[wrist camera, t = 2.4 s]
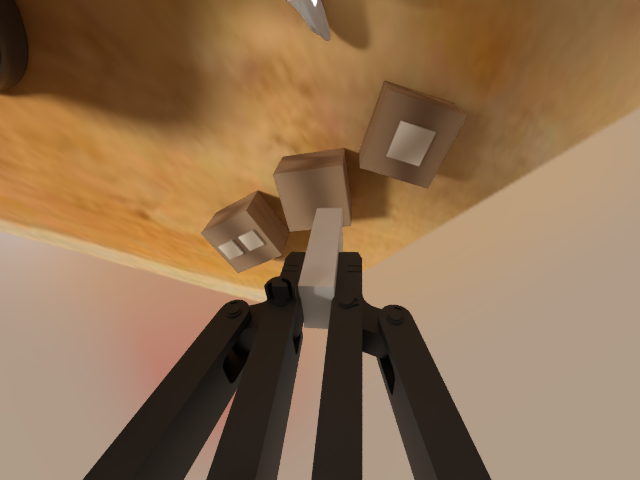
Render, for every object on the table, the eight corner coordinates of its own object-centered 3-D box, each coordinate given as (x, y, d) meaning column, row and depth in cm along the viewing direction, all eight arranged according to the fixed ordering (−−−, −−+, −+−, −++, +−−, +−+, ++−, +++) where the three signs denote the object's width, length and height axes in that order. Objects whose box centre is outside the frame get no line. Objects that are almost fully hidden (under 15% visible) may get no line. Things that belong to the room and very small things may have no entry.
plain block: (296, 209, 38) (289, 231, 34) (283, 156, 34) (272, 174, 30) (351, 203, 36) (351, 225, 32) (344, 147, 32) (342, 165, 28)
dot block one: (359, 149, 32) (359, 168, 28) (384, 80, 28) (388, 90, 24) (419, 168, 33) (428, 190, 29) (452, 102, 29) (468, 117, 24)
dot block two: (249, 249, 42) (237, 274, 38) (216, 211, 39) (199, 234, 35) (289, 231, 40) (281, 256, 36) (258, 189, 37) (245, 211, 32)
